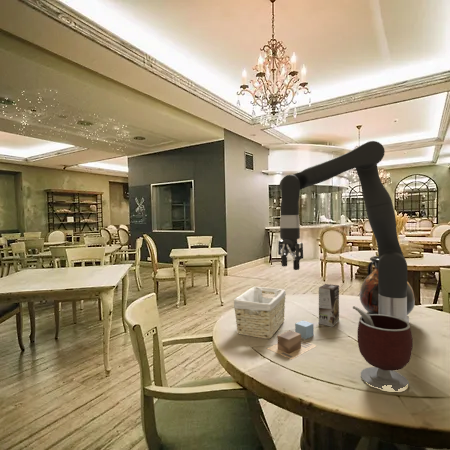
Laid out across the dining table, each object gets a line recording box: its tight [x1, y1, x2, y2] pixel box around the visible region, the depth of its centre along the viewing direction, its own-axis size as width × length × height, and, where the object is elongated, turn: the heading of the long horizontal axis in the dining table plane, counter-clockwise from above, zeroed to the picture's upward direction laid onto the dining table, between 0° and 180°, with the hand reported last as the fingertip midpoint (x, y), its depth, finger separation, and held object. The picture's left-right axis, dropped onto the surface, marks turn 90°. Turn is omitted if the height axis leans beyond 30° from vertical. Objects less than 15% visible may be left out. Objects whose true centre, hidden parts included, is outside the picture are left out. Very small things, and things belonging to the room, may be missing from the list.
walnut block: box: [276, 329, 302, 354], centre depth 107 cm, size 5×7×5 cm
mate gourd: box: [352, 305, 413, 391], centre depth 86 cm, size 16×14×20 cm
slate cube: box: [294, 320, 315, 340], centre depth 118 cm, size 5×5×5 cm
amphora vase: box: [359, 255, 416, 316], centre depth 132 cm, size 22×22×28 cm
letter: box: [266, 339, 317, 360], centre depth 108 cm, size 11×15×1 cm
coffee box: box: [318, 283, 340, 327], centre depth 131 cm, size 9×6×16 cm
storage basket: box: [233, 286, 286, 340], centre depth 127 cm, size 24×16×15 cm
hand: (290, 267), depth 117 cm, fingers open, 8 cm apart
